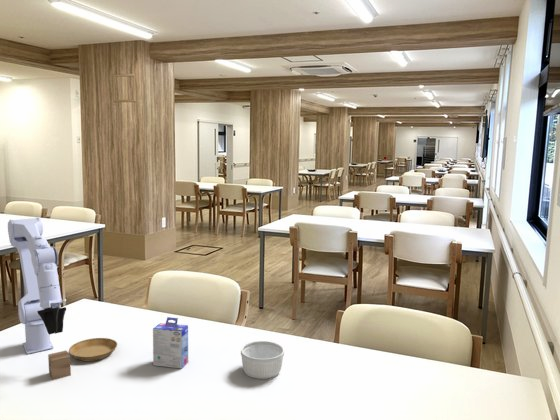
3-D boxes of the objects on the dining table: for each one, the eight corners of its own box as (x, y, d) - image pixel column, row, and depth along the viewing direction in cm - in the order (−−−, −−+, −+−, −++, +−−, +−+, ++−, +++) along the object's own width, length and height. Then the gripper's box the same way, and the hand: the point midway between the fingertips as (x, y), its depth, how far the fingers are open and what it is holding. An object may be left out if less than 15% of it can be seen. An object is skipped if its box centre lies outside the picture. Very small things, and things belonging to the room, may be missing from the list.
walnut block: (49, 373, 140) (48, 354, 139) (67, 369, 143) (66, 350, 142) (52, 380, 136) (51, 360, 135) (70, 375, 139) (69, 356, 138)
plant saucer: (100, 341, 164) (100, 334, 164) (126, 352, 156) (126, 344, 155) (60, 356, 152) (59, 348, 152) (86, 369, 144) (85, 360, 143)
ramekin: (290, 366, 147) (291, 345, 146) (272, 385, 135) (272, 362, 134) (253, 358, 152) (253, 337, 152) (232, 375, 141) (232, 353, 140)
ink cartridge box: (189, 361, 149) (189, 317, 147) (182, 369, 144) (181, 324, 142) (160, 358, 151) (159, 315, 149) (152, 365, 146) (151, 321, 144)
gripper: (58, 282, 134) (65, 330, 132) (68, 286, 148) (74, 329, 146) (31, 288, 132) (38, 336, 130) (44, 291, 146) (50, 334, 144)
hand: (55, 333), depth 138 cm, fingers open, 7 cm apart
